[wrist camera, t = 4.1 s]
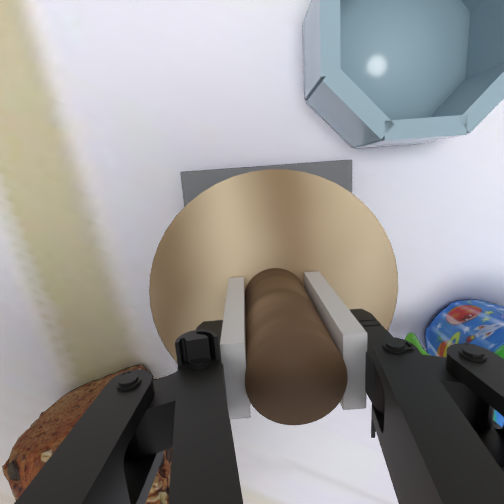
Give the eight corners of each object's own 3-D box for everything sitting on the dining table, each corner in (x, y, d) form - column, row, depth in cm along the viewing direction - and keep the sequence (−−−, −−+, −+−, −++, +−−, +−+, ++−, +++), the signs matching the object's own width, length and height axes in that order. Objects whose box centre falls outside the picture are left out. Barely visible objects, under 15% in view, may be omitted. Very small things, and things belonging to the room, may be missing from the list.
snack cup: (563, 301, 30) (720, 365, 20) (513, 397, 32) (631, 497, 22) (404, 261, 29) (486, 308, 19) (365, 363, 31) (420, 452, 21)
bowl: (306, 151, 26) (322, 145, 20) (300, -38, 23) (317, -110, 17) (467, 140, 26) (529, 130, 20) (483, -52, 23) (562, -129, 17)
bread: (55, 391, 32) (-30, 487, 22) (151, 353, 31) (106, 435, 21) (143, 524, 36) (104, 654, 26) (230, 494, 35) (223, 617, 25)
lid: (171, 398, 19) (121, 554, 11) (139, 178, 16) (39, 182, 8) (384, 381, 19) (481, 525, 12) (392, 161, 16) (533, 148, 8)
